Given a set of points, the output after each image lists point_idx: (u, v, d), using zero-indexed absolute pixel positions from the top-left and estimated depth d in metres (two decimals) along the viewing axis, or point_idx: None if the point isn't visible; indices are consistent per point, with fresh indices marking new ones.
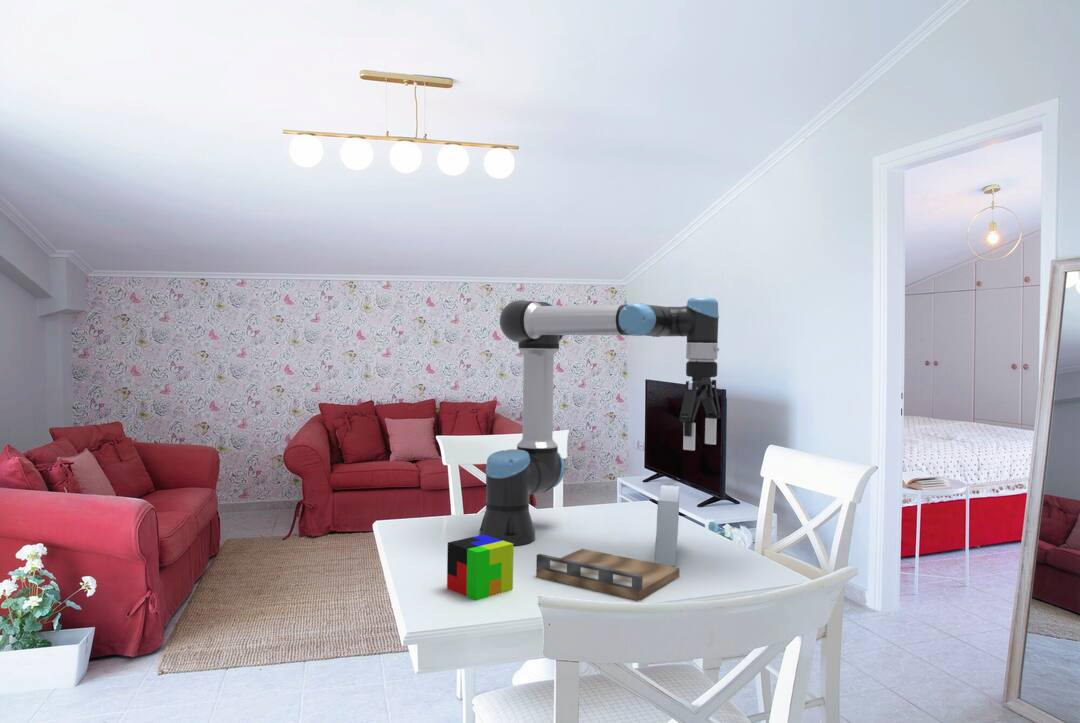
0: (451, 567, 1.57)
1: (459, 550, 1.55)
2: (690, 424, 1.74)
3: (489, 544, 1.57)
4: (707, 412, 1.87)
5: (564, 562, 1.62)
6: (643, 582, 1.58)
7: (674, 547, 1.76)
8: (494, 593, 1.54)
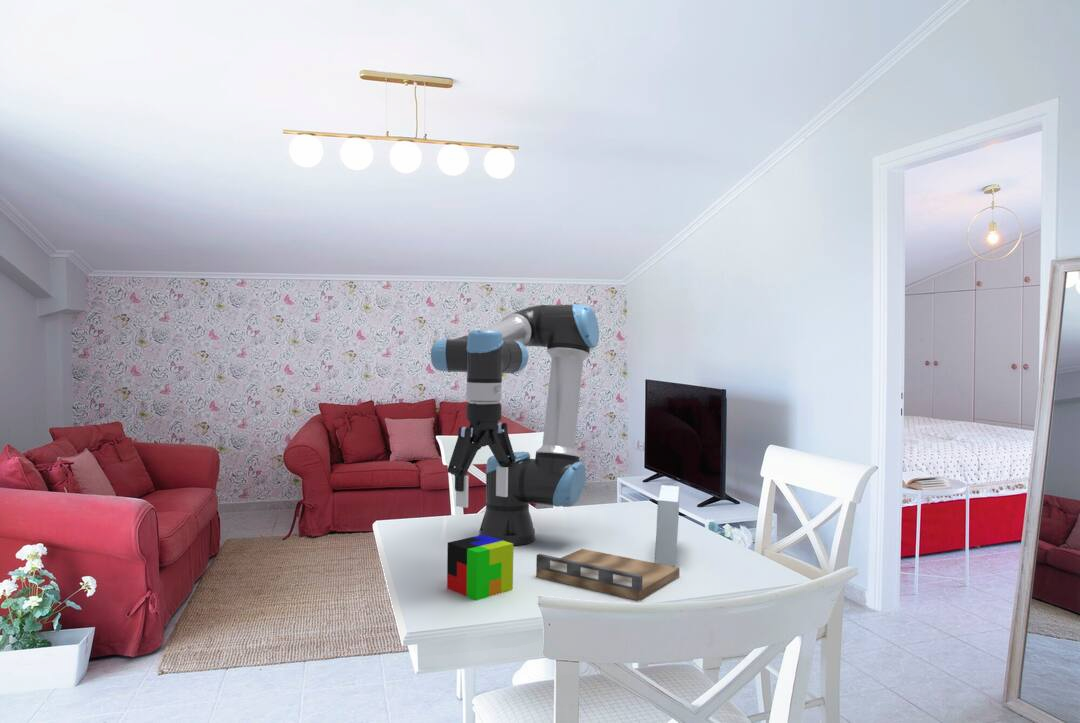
0: (451, 567, 1.57)
1: (459, 550, 1.55)
2: (461, 477, 1.51)
3: (489, 544, 1.57)
4: (498, 460, 1.63)
5: (564, 562, 1.62)
6: (643, 582, 1.58)
7: (674, 547, 1.76)
8: (494, 593, 1.54)
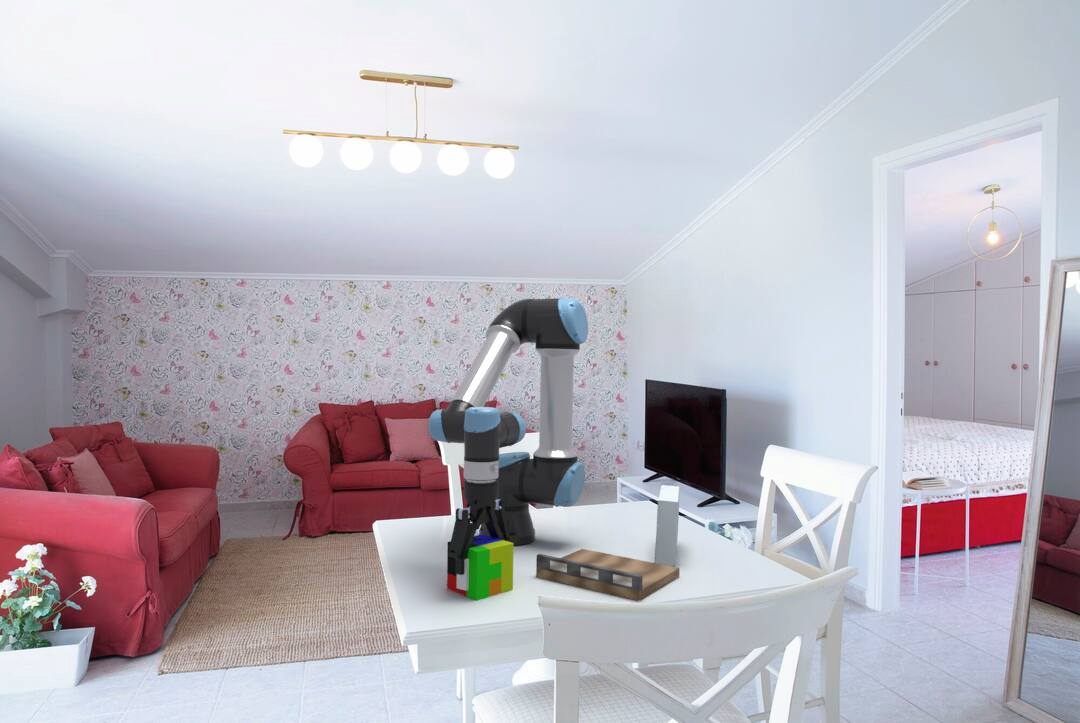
0: (451, 567, 1.57)
1: None
2: (462, 561, 1.52)
3: (489, 544, 1.57)
4: None
5: (564, 562, 1.62)
6: (643, 582, 1.58)
7: (674, 547, 1.76)
8: (494, 593, 1.54)
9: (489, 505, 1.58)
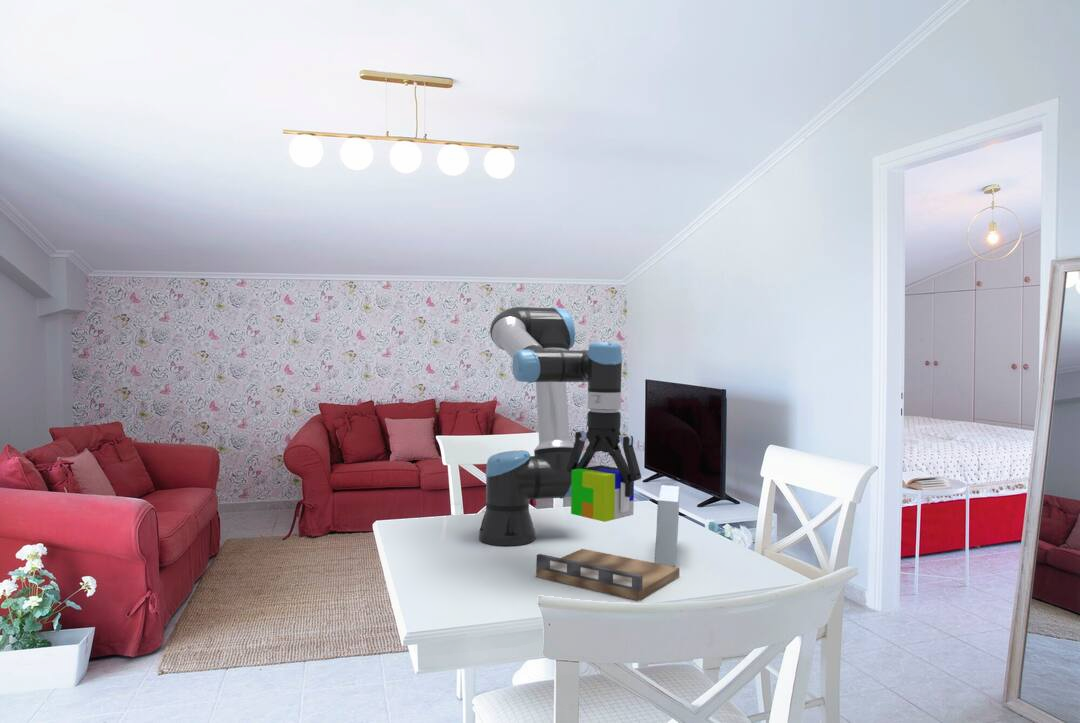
0: None
1: None
2: None
3: (599, 471, 1.65)
4: None
5: (564, 562, 1.62)
6: (643, 582, 1.58)
7: (674, 547, 1.76)
8: (586, 515, 1.64)
9: (606, 436, 1.65)
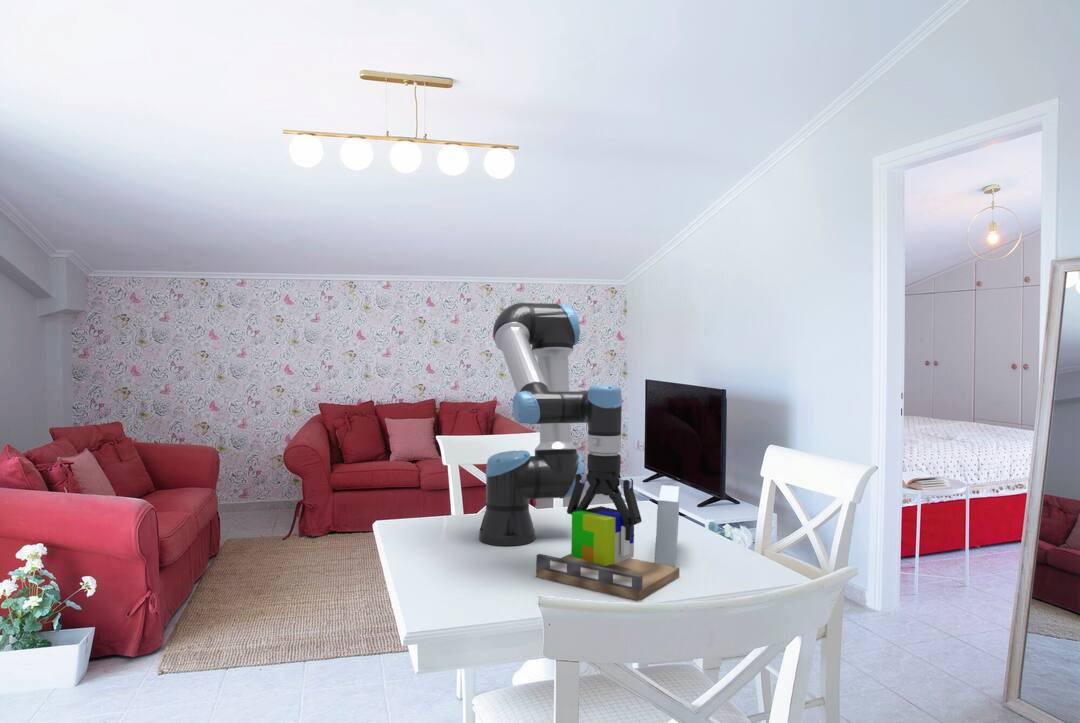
0: None
1: None
2: None
3: (599, 514, 1.65)
4: None
5: (564, 562, 1.62)
6: (643, 582, 1.58)
7: (674, 547, 1.76)
8: (587, 558, 1.64)
9: (607, 479, 1.65)
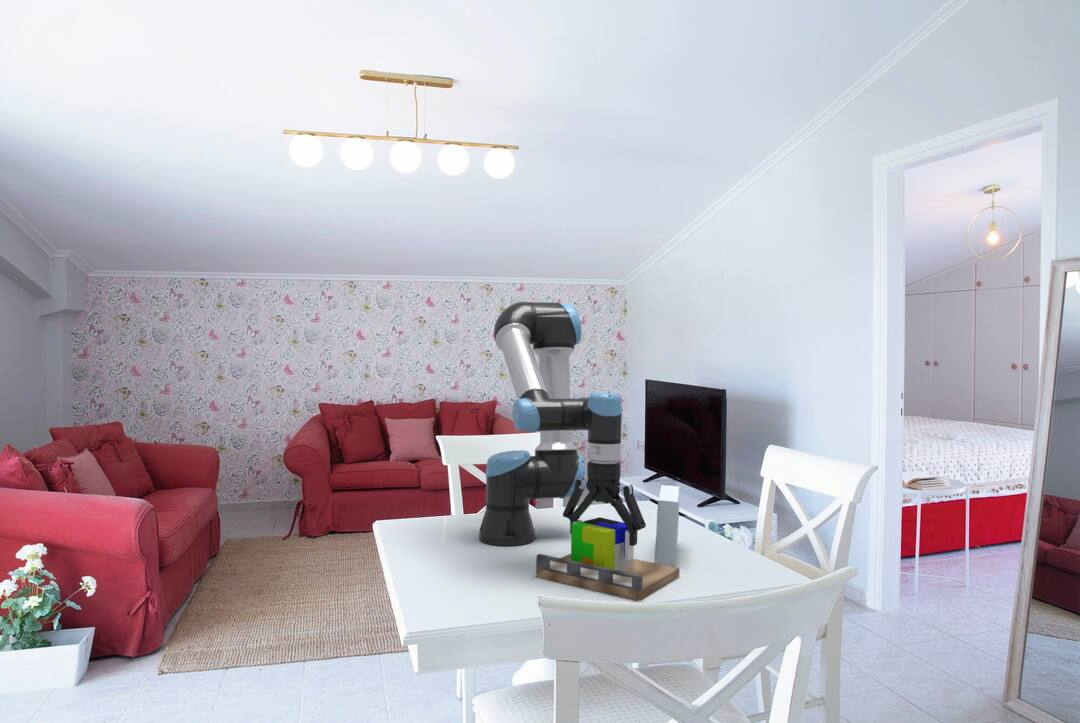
0: None
1: None
2: (571, 522, 1.71)
3: (599, 526, 1.65)
4: None
5: (564, 562, 1.62)
6: (643, 582, 1.58)
7: (674, 547, 1.76)
8: None
9: (606, 488, 1.65)
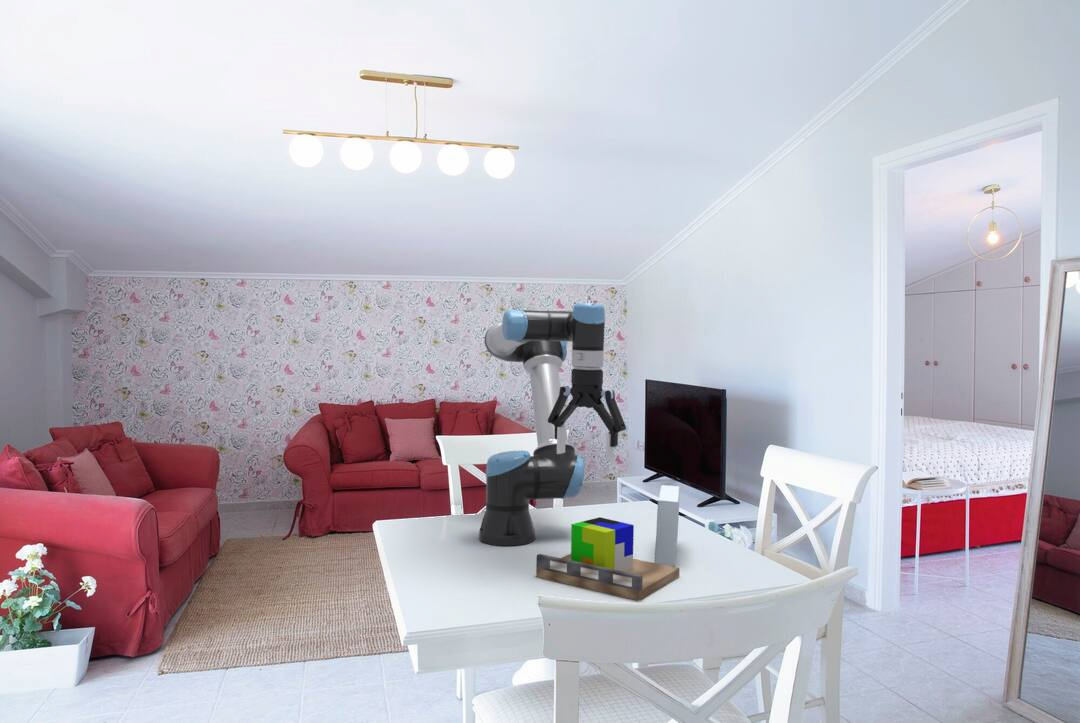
0: None
1: None
2: (556, 427, 1.80)
3: (599, 526, 1.65)
4: None
5: (564, 562, 1.62)
6: (643, 582, 1.58)
7: (674, 547, 1.76)
8: None
9: (589, 393, 1.73)
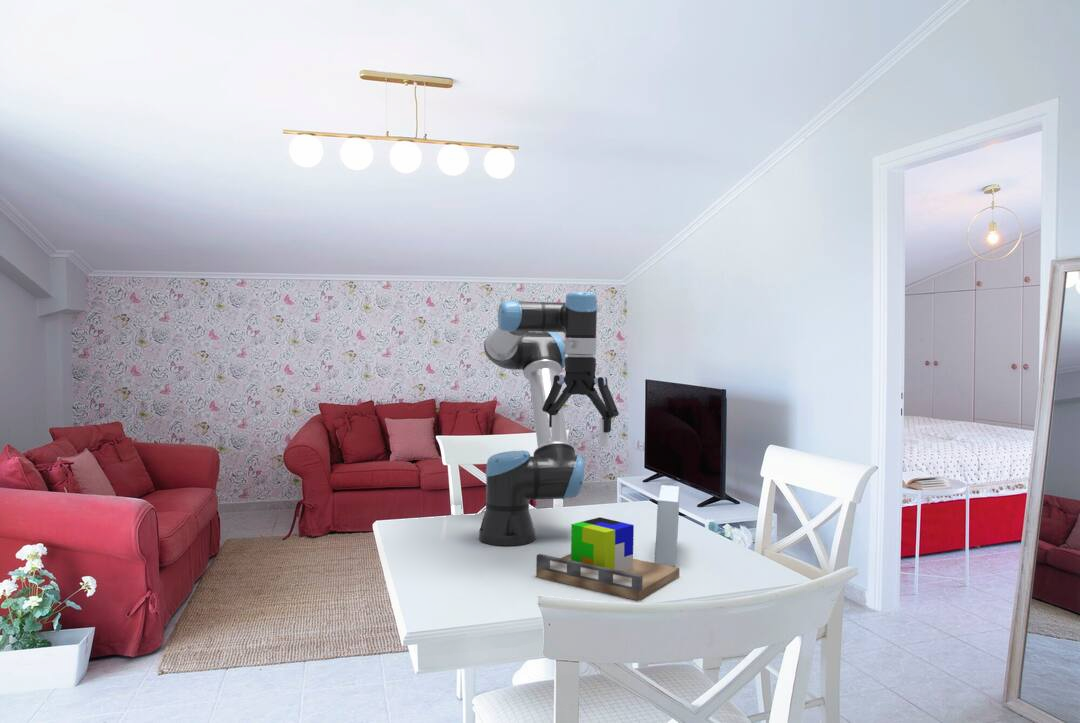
0: None
1: None
2: (550, 416, 1.82)
3: (599, 526, 1.65)
4: None
5: (564, 562, 1.62)
6: (643, 582, 1.58)
7: (674, 547, 1.76)
8: None
9: (582, 380, 1.77)
